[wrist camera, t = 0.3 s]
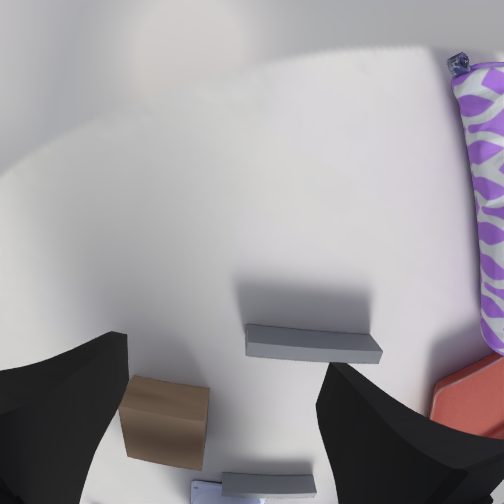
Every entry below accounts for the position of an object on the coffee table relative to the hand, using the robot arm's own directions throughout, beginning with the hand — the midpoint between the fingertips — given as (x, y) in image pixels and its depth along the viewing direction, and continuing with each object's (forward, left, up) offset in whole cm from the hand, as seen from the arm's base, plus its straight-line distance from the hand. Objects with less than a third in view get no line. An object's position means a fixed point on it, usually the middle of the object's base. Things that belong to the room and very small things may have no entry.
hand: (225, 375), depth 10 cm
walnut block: (-12, +4, -10) cm, 16 cm away
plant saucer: (-11, -28, -11) cm, 32 cm away
